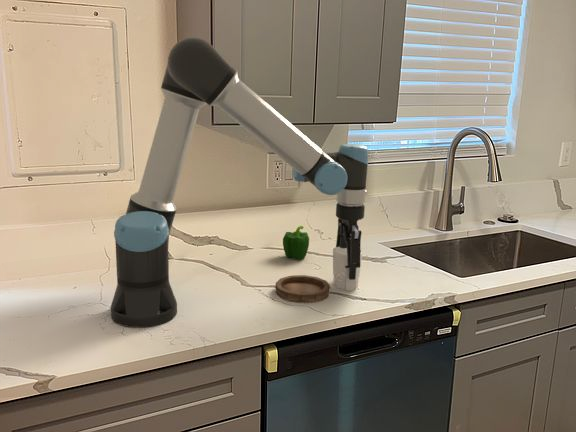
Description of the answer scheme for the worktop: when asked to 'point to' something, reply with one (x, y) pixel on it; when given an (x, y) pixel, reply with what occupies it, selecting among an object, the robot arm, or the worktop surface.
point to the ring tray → (302, 289)
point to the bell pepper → (296, 244)
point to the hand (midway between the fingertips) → (345, 283)
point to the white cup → (342, 267)
